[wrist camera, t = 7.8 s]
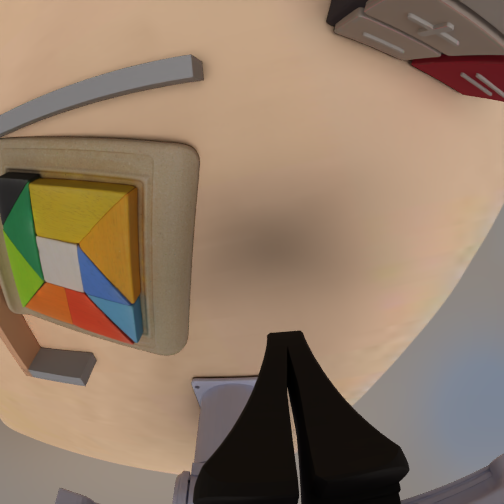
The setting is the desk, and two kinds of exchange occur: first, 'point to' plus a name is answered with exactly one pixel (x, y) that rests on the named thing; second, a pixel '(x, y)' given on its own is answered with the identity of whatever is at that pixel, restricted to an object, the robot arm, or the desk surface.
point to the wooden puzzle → (100, 236)
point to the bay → (70, 97)
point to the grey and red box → (433, 38)
